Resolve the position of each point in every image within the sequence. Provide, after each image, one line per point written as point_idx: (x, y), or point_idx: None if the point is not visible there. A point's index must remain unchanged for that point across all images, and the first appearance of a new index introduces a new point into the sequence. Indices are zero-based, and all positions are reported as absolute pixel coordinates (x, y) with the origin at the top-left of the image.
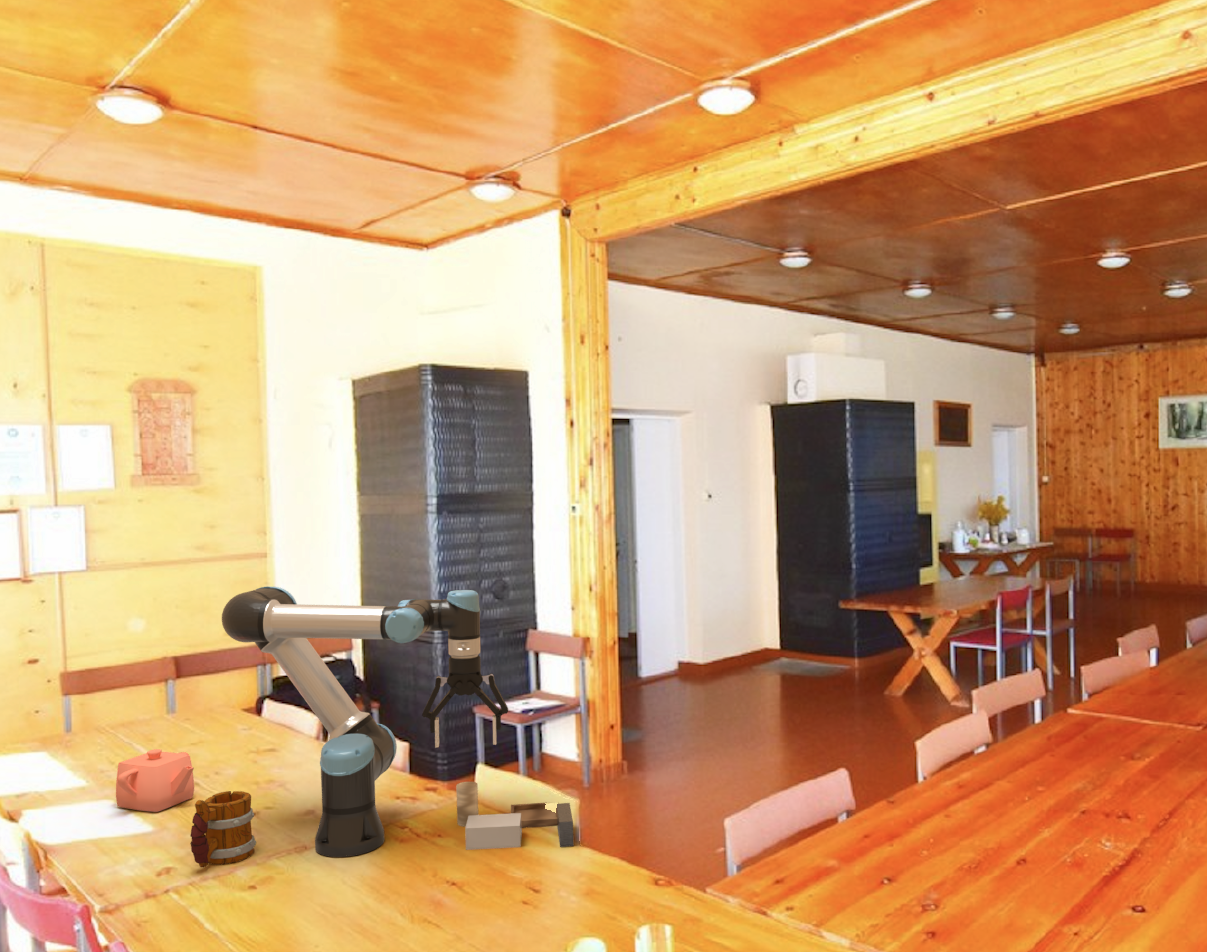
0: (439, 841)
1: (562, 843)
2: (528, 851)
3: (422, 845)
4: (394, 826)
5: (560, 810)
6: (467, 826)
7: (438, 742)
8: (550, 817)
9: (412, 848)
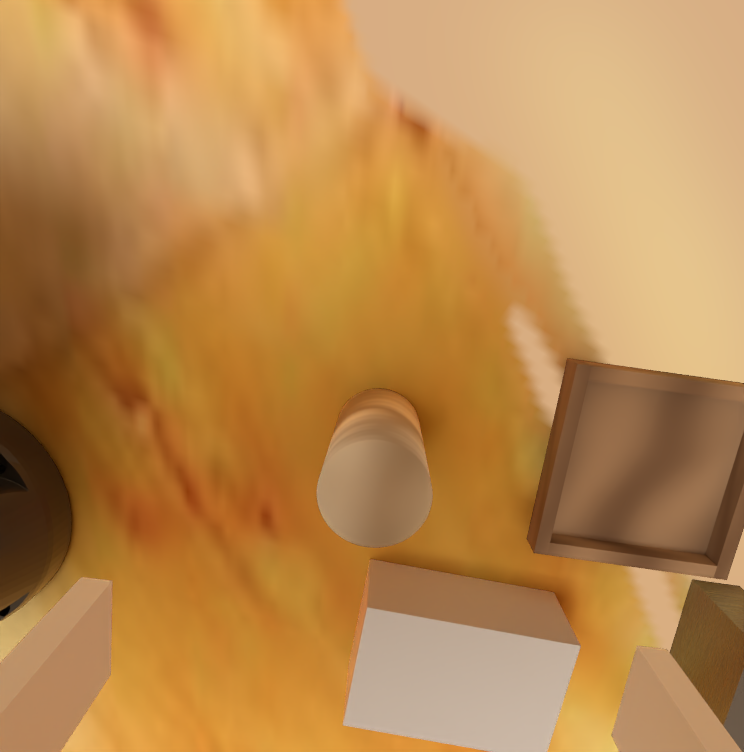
0: (265, 571)
1: None
2: None
3: (208, 586)
4: (93, 376)
5: (738, 716)
6: (352, 711)
7: (87, 694)
8: (698, 497)
9: (175, 600)
